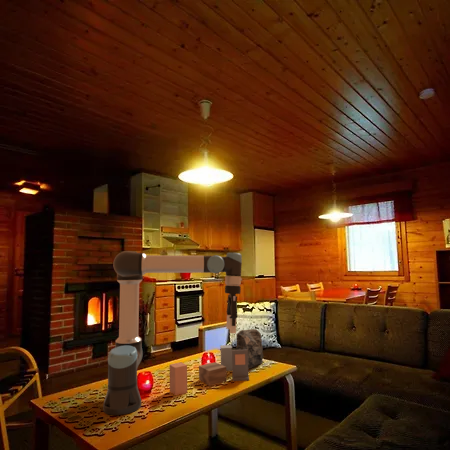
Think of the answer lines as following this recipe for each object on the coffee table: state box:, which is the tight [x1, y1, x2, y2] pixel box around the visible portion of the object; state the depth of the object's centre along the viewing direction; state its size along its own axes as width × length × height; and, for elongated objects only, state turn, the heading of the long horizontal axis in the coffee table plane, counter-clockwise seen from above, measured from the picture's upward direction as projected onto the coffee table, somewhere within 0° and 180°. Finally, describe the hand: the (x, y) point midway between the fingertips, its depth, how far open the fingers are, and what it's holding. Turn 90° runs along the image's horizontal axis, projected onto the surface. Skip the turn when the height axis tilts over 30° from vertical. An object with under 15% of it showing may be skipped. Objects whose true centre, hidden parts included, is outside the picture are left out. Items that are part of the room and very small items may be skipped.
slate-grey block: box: [219, 344, 233, 372], centre depth 190 cm, size 6×6×12 cm
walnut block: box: [198, 362, 228, 387], centre depth 172 cm, size 10×10×7 cm
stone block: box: [235, 328, 264, 369], centre depth 195 cm, size 18×9×20 cm, turn 130°
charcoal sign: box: [231, 349, 250, 382], centre depth 173 cm, size 8×4×14 cm, turn 93°
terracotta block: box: [169, 361, 188, 396], centre depth 158 cm, size 6×6×12 cm
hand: (230, 331), depth 162 cm, fingers open, 13 cm apart
